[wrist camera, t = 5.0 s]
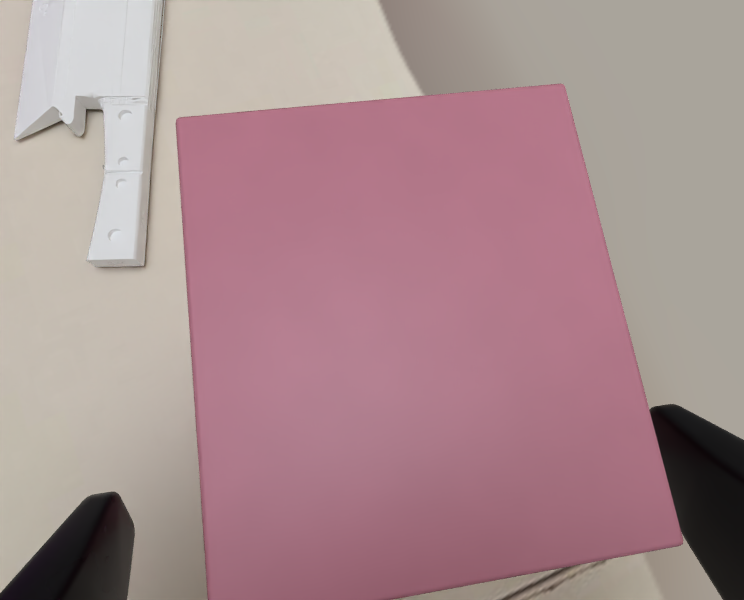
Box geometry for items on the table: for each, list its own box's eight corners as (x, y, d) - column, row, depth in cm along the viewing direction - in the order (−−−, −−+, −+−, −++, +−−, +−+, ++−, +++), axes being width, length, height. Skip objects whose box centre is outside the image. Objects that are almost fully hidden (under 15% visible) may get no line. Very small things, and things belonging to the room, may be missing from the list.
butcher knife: (-3, 268, 18) (-26, 258, 17) (48, -73, 21) (32, -99, 20) (145, 266, 18) (132, 256, 17) (171, -70, 21) (162, -96, 20)
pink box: (432, 452, 17) (686, 546, 5) (305, 473, 17) (208, 637, 4) (409, 312, 18) (565, 81, 6) (288, 327, 18) (173, 115, 5)
